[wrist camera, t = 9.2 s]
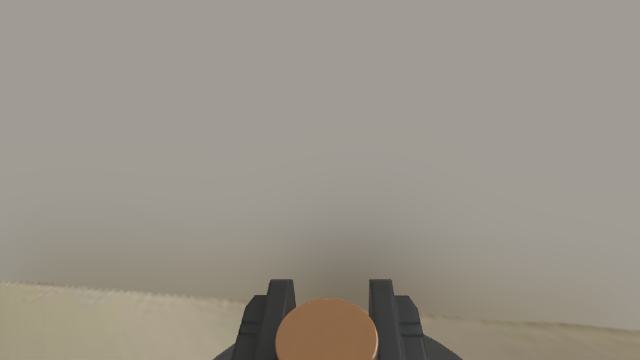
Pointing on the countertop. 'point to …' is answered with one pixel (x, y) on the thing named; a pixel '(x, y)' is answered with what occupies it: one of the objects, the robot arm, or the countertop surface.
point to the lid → (333, 334)
